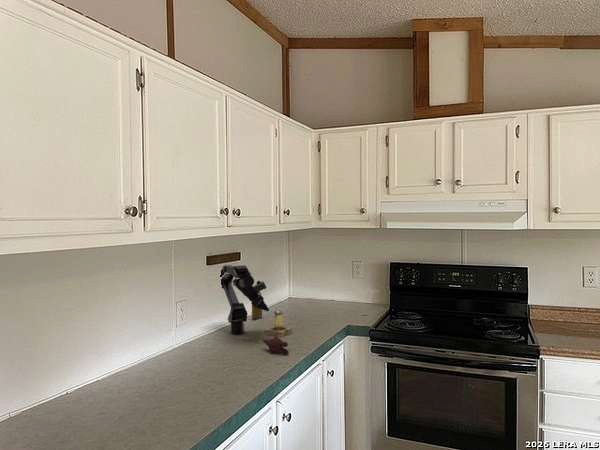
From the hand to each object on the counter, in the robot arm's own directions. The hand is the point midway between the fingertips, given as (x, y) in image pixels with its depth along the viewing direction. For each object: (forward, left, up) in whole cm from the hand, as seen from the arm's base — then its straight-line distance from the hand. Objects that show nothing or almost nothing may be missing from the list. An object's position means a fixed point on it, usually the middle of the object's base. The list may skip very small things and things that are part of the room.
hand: (267, 308), depth 217 cm
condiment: (+25, +26, -14) cm, 38 cm away
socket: (+4, -4, -14) cm, 15 cm away
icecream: (-20, -19, -14) cm, 31 cm away
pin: (+4, -4, -14) cm, 15 cm away
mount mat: (+10, +4, -14) cm, 17 cm away
